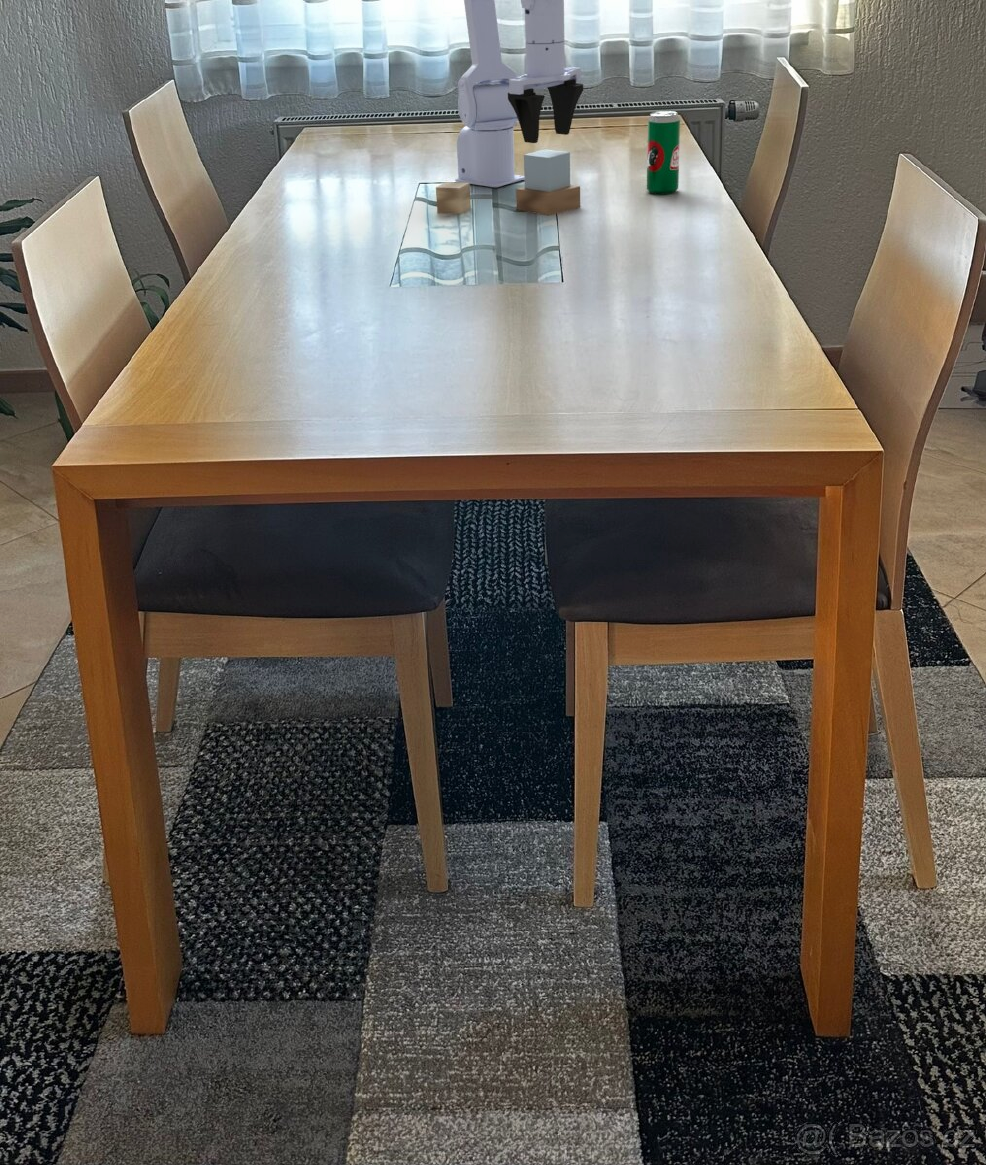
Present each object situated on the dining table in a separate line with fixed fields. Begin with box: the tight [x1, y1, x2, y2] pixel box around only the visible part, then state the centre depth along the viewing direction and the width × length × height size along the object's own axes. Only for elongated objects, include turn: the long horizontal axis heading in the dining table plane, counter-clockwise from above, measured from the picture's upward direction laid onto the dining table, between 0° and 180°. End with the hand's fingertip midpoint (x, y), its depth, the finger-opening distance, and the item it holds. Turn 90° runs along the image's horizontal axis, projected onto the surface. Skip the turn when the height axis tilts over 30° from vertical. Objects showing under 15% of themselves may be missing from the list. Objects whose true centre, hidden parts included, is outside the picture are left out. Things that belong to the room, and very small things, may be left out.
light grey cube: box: [523, 148, 571, 192], centre depth 198 cm, size 5×5×5 cm
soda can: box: [646, 110, 681, 196], centre depth 204 cm, size 5×5×12 cm
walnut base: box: [515, 184, 581, 217], centre depth 200 cm, size 7×7×4 cm
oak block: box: [435, 181, 472, 215], centre depth 201 cm, size 4×4×4 cm
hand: (546, 138), depth 195 cm, fingers open, 7 cm apart
